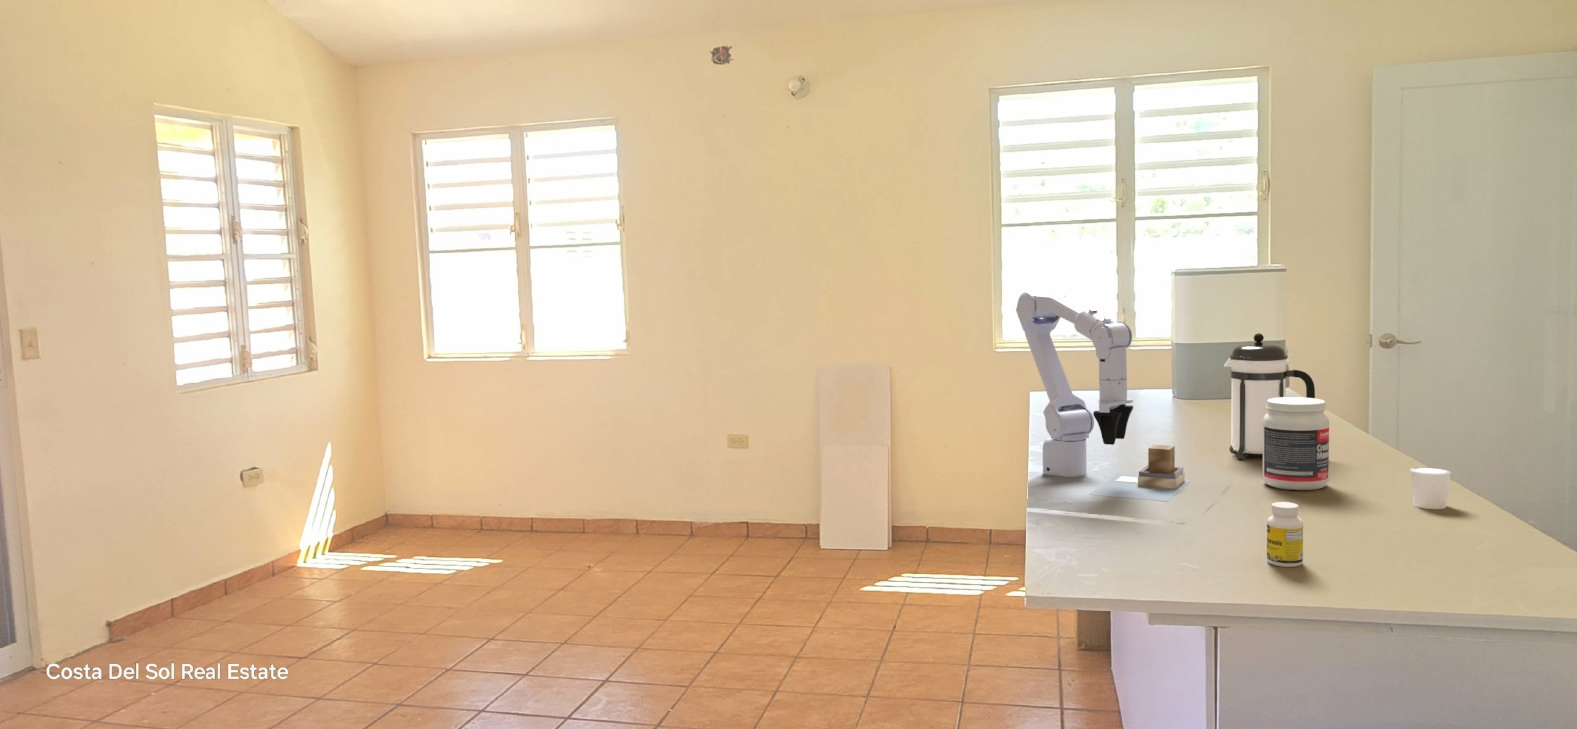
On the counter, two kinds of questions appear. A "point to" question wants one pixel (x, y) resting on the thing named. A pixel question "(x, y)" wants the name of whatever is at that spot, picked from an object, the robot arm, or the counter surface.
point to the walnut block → (1161, 459)
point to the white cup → (1430, 487)
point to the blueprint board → (1144, 485)
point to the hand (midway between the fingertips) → (1114, 441)
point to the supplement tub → (1296, 443)
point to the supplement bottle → (1285, 535)
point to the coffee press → (1257, 391)
